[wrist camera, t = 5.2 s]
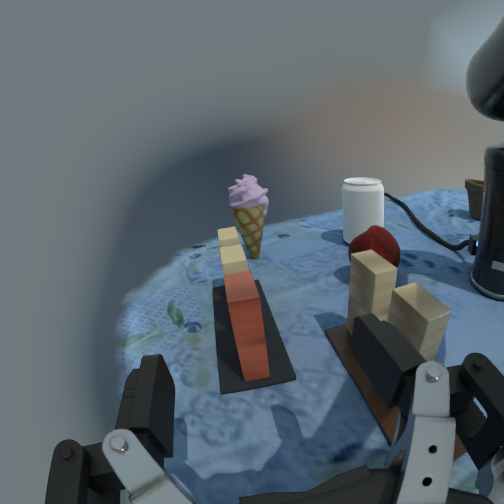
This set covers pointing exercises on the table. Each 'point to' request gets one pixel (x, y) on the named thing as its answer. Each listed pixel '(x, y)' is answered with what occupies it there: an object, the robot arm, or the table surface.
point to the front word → (396, 313)
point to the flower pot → (475, 197)
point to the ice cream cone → (249, 211)
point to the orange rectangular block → (247, 324)
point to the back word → (225, 338)
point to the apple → (377, 244)
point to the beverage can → (361, 206)
